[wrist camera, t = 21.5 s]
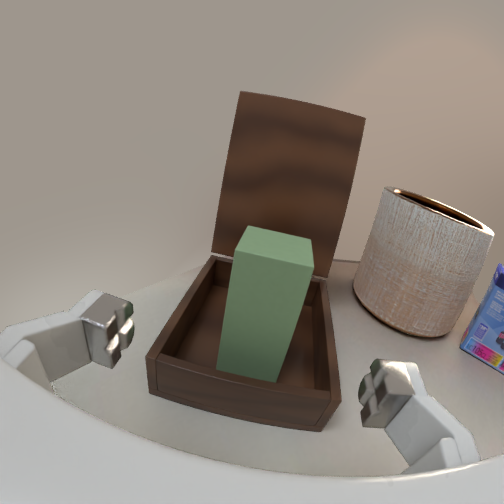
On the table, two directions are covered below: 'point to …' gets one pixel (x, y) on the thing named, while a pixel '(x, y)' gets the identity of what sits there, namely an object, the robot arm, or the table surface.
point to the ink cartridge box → (488, 325)
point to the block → (264, 302)
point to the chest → (241, 387)
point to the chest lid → (288, 173)
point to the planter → (420, 263)
